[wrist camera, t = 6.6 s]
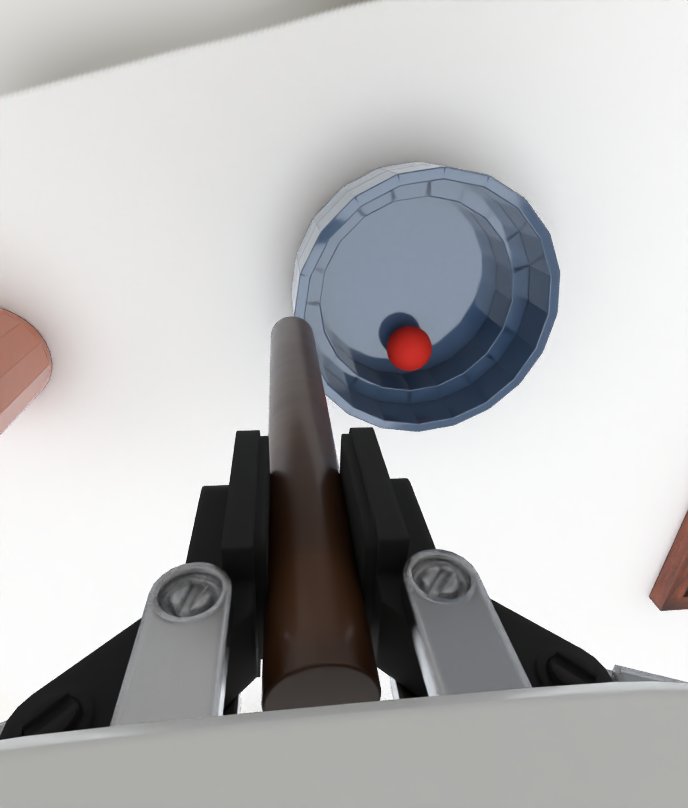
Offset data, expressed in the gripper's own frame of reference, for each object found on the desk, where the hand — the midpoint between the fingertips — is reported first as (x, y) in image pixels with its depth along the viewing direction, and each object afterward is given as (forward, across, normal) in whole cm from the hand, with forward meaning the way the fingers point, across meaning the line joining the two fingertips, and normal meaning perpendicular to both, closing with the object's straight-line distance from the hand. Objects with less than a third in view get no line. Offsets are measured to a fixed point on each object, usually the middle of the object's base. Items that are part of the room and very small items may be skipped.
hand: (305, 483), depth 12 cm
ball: (+21, -8, +5) cm, 23 cm away
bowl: (+23, -8, +1) cm, 25 cm away
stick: (+11, 0, 0) cm, 11 cm away
